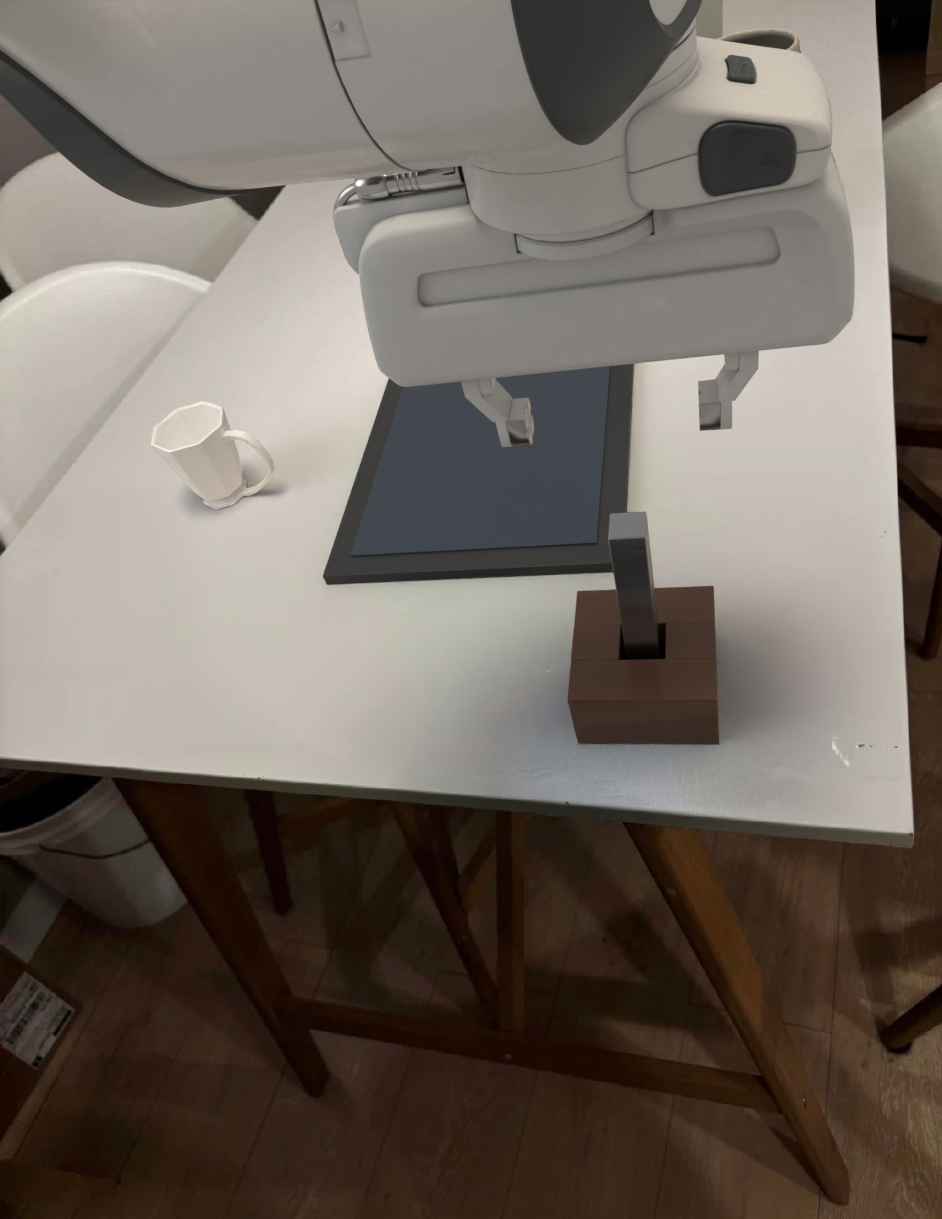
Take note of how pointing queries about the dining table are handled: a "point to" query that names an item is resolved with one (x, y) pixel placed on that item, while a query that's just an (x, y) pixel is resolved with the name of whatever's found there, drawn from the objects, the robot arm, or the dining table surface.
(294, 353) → the dining table surface
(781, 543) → the dining table surface
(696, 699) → the brown block with hole
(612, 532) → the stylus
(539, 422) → the drawing tablet
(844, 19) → the dining table surface
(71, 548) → the dining table surface
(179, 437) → the cup
